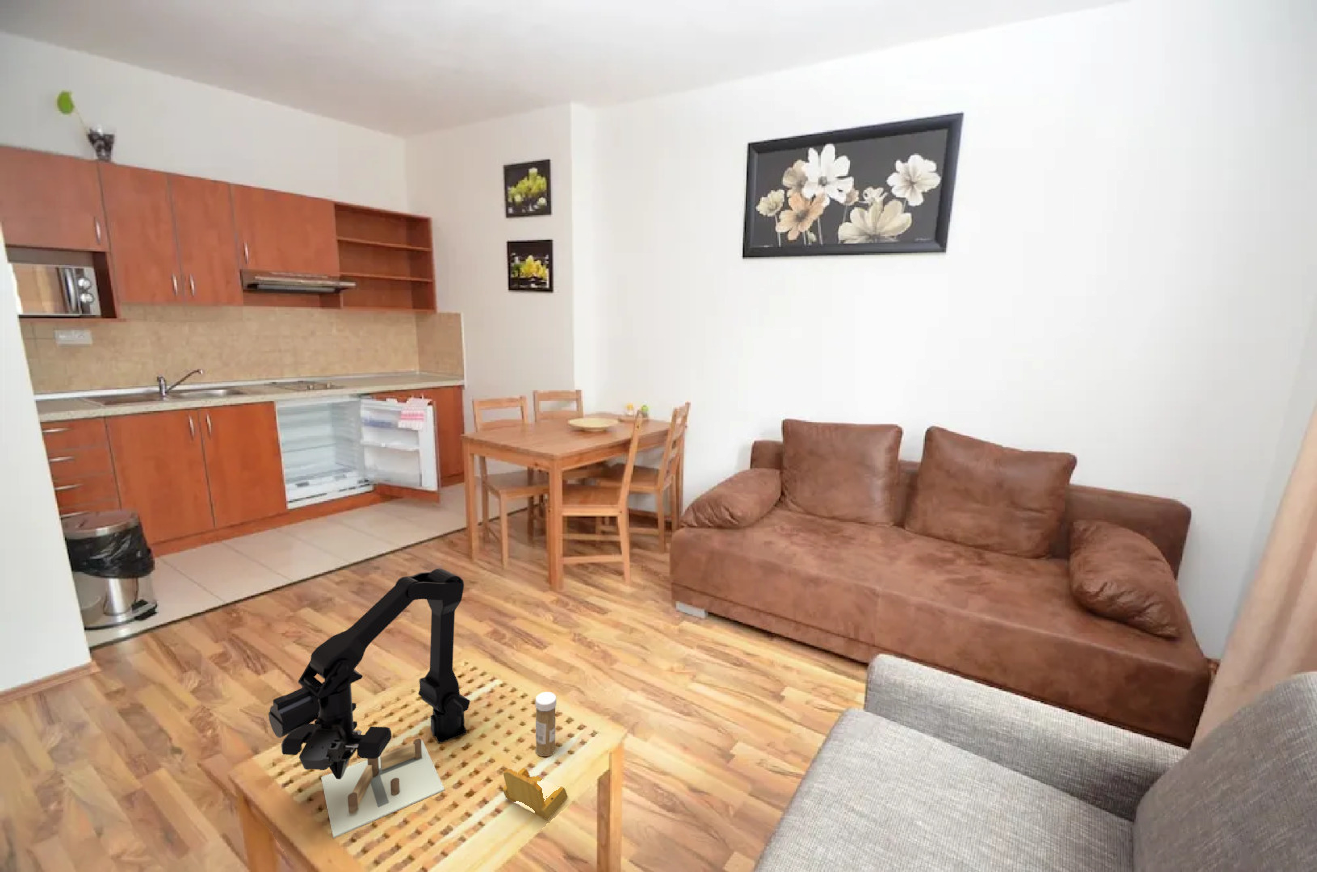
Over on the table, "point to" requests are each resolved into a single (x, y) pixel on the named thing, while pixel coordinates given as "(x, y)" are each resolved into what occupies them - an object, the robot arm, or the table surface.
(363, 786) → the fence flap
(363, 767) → the card
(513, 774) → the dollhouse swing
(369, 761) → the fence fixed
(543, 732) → the sprinkles bottle
